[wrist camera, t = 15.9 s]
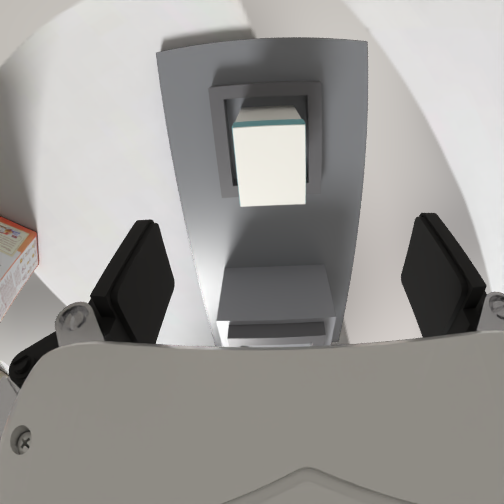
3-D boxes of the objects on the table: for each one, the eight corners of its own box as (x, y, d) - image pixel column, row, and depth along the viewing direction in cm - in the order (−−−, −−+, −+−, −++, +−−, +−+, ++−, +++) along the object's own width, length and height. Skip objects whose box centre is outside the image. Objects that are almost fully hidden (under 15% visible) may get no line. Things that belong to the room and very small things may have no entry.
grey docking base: (159, 52, 20) (104, 56, 12) (363, 41, 19) (417, 39, 11) (216, 339, 40) (207, 402, 32) (337, 335, 39) (347, 398, 31)
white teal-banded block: (240, 107, 22) (231, 127, 16) (294, 104, 21) (305, 124, 16) (245, 167, 25) (239, 207, 19) (295, 165, 24) (306, 204, 19)
